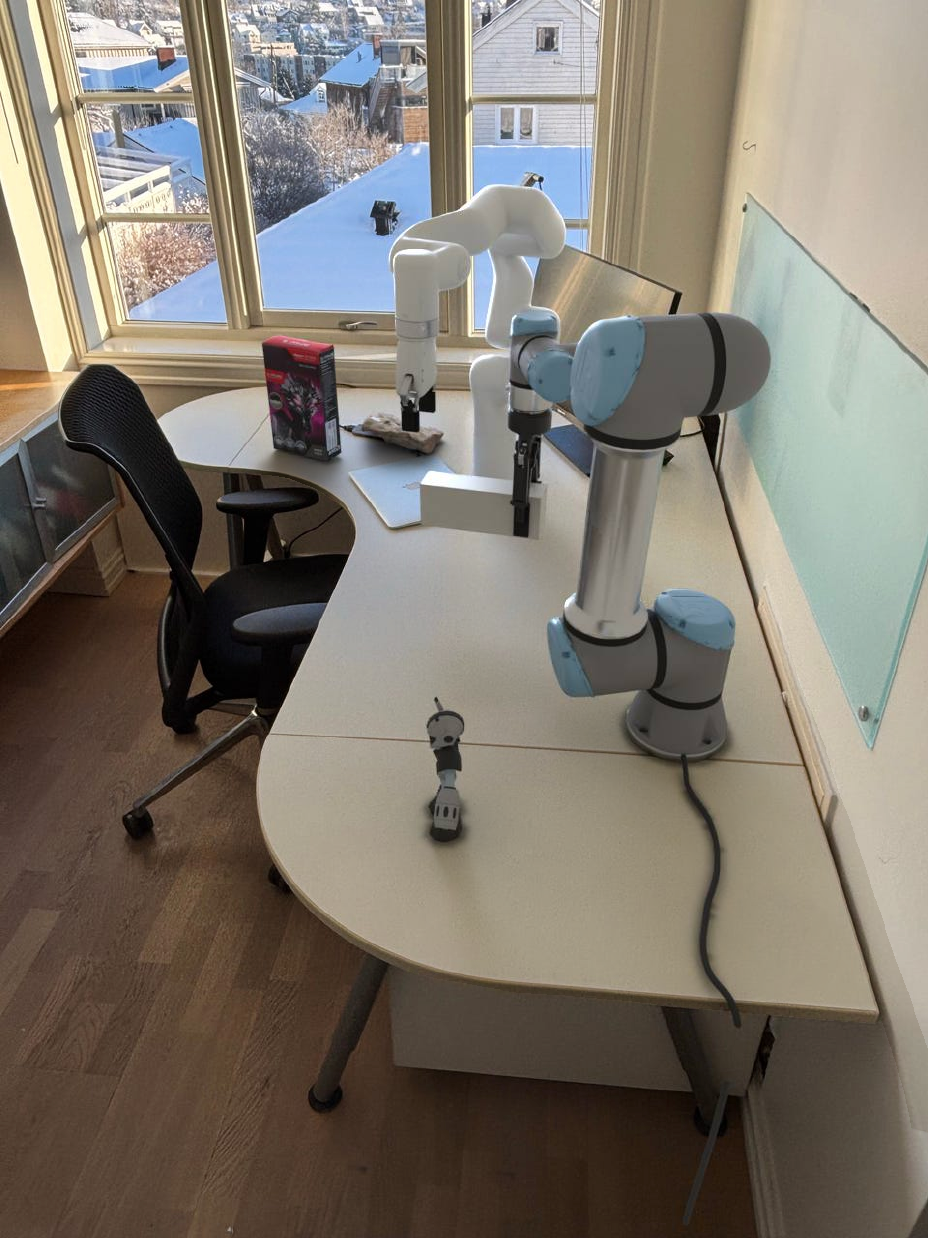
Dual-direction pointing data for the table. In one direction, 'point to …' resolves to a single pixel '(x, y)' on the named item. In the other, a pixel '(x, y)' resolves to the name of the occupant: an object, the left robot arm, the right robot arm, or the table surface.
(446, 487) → the bar
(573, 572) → the table surface
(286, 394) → the graphics card box
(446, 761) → the robot
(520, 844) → the table surface
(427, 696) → the table surface
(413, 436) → the stone
